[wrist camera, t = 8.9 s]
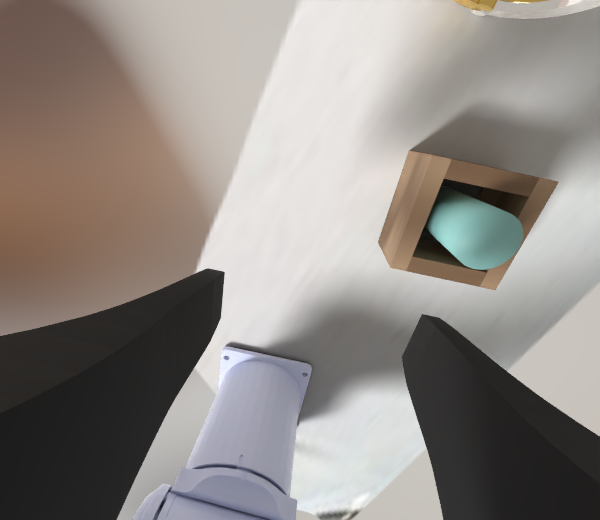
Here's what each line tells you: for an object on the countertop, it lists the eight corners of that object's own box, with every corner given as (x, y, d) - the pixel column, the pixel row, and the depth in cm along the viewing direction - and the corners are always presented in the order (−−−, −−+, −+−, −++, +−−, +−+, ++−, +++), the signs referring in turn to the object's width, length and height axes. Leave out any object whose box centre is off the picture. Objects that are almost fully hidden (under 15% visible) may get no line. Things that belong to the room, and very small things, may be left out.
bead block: (462, 260, 19) (495, 290, 15) (377, 242, 19) (390, 267, 15) (507, 171, 16) (558, 181, 13) (409, 150, 16) (432, 154, 13)
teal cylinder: (449, 233, 18) (502, 275, 13) (409, 224, 18) (444, 262, 13) (469, 192, 17) (536, 218, 12) (425, 182, 17) (472, 204, 12)
